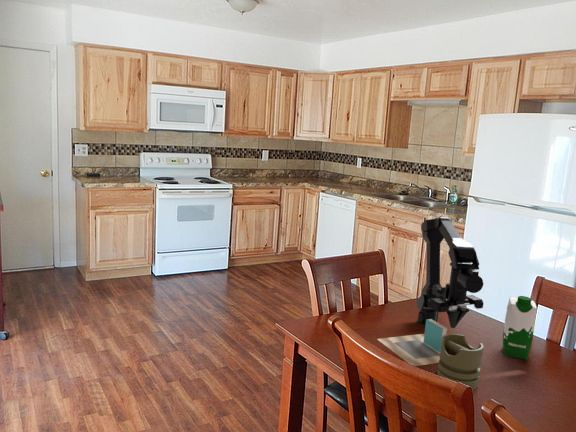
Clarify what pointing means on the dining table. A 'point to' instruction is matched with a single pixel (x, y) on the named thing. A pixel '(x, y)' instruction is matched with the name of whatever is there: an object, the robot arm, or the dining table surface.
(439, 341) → the tile
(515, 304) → the milk carton
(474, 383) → the piston
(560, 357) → the dining table surface
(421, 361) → the board
